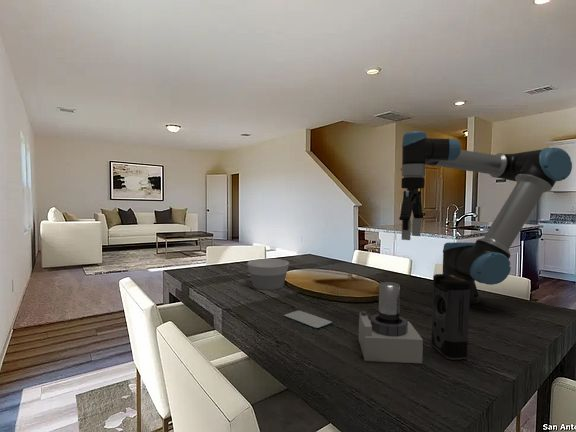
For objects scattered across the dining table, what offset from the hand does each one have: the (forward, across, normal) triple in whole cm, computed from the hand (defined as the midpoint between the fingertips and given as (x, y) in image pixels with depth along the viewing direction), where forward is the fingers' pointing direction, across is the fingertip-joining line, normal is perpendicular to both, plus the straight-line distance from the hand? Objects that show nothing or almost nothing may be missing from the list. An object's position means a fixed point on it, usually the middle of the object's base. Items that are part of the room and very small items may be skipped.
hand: (411, 237), depth 117 cm
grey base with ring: (+27, +34, +3) cm, 43 cm away
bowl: (+27, +2, -63) cm, 68 cm away
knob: (+21, +34, +3) cm, 40 cm away
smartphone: (+27, +27, -26) cm, 46 cm away
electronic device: (+27, +25, +17) cm, 40 cm away
